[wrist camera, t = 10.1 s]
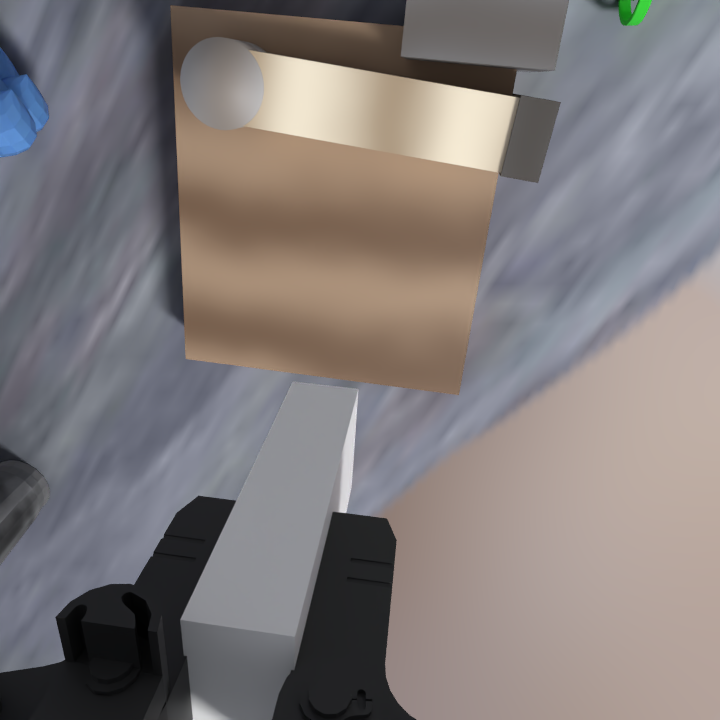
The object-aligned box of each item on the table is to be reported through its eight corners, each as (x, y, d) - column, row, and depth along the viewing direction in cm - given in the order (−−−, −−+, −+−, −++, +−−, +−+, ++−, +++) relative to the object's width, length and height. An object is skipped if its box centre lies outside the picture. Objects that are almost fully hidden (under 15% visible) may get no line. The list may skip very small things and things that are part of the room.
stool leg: (204, 118, 29) (179, 122, 26) (208, 35, 28) (181, 29, 25) (526, 176, 29) (536, 187, 26) (549, 94, 27) (561, 97, 24)
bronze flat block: (193, -14, 30) (127, -39, 24) (540, 16, 29) (569, -2, 22) (203, 338, 38) (156, 390, 32) (473, 373, 37) (480, 434, 31)
